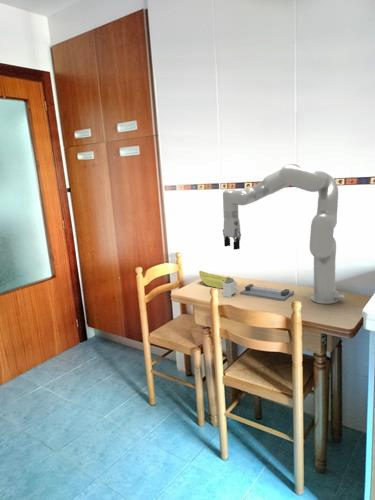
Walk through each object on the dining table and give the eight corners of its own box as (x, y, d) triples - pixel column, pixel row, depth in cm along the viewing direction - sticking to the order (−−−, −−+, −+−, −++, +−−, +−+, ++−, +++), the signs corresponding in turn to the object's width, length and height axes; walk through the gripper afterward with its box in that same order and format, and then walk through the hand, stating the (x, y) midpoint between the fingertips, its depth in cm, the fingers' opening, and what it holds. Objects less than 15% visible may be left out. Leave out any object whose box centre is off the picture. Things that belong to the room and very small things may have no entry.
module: (237, 293, 202) (236, 280, 201) (230, 297, 197) (230, 283, 196) (230, 292, 205) (229, 279, 203) (223, 296, 200) (222, 282, 199)
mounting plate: (294, 293, 195) (294, 291, 195) (283, 301, 186) (283, 298, 186) (251, 287, 210) (251, 285, 210) (240, 294, 201) (240, 292, 201)
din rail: (289, 293, 193) (289, 289, 193) (284, 296, 189) (284, 292, 189) (250, 287, 207) (250, 284, 206) (245, 290, 203) (245, 286, 202)
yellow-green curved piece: (235, 279, 220) (226, 276, 212) (232, 292, 219) (223, 289, 212) (207, 273, 232) (197, 269, 225) (204, 285, 232) (194, 282, 224)
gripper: (246, 215, 191) (246, 249, 195) (229, 212, 207) (230, 243, 210) (232, 217, 188) (233, 251, 192) (216, 213, 204) (217, 245, 208)
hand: (231, 247), depth 201 cm, fingers open, 9 cm apart
